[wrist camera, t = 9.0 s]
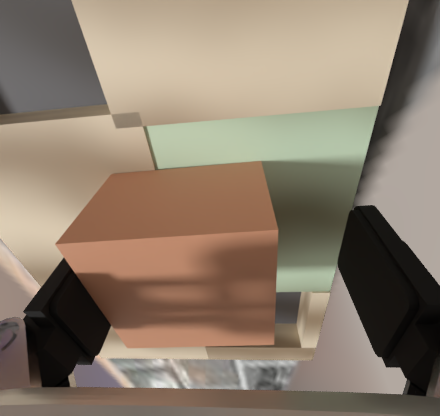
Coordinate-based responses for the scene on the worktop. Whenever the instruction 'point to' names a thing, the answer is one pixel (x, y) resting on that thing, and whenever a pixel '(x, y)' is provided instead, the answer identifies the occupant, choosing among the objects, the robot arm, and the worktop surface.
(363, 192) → the worktop surface
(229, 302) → the block
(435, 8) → the worktop surface
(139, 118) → the board
